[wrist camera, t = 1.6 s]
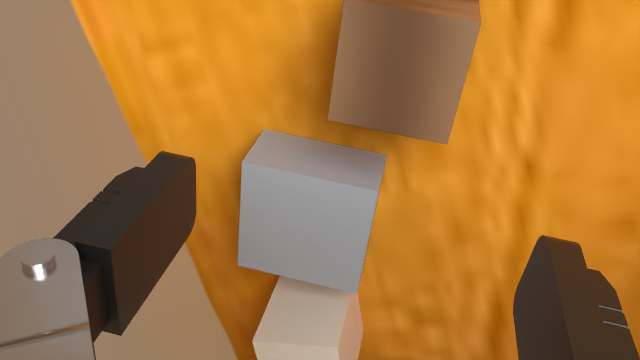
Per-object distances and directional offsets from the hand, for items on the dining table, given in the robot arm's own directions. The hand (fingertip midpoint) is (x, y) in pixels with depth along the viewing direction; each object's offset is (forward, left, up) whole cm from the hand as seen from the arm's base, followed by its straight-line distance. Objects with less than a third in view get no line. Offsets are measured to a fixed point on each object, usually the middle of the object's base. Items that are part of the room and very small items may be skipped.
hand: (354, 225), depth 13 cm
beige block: (+2, +19, -16) cm, 25 cm away
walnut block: (0, 0, -16) cm, 16 cm away
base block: (+3, +10, -16) cm, 20 cm away
